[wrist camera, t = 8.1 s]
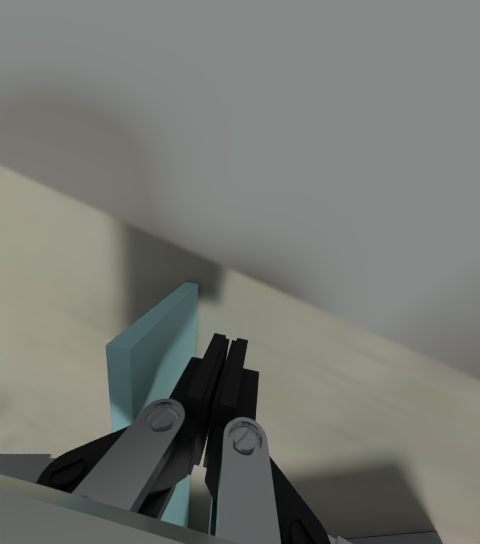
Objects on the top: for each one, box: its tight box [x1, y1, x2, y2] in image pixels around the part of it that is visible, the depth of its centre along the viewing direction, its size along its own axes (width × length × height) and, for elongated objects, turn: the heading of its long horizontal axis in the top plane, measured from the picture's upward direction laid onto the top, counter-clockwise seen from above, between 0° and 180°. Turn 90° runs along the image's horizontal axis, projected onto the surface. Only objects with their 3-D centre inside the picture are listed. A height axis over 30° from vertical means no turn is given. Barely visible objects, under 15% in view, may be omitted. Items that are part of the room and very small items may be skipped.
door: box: [106, 282, 198, 528], centre depth 14 cm, size 26×1×7 cm, turn 175°
